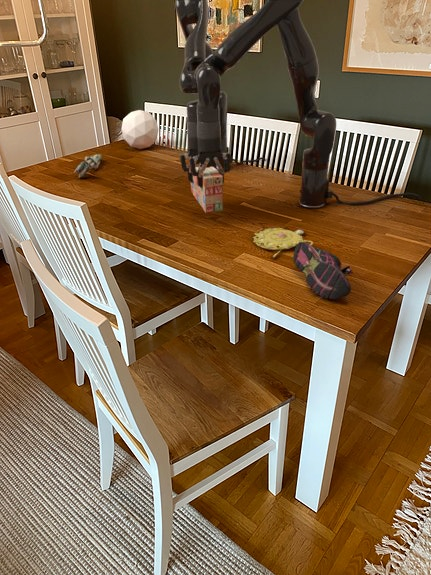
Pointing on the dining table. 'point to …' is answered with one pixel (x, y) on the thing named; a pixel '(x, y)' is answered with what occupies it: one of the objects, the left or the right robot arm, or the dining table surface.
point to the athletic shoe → (322, 271)
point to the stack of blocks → (209, 190)
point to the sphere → (139, 129)
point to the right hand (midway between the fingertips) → (210, 185)
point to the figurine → (88, 164)
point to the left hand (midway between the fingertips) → (200, 180)
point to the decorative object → (279, 239)
